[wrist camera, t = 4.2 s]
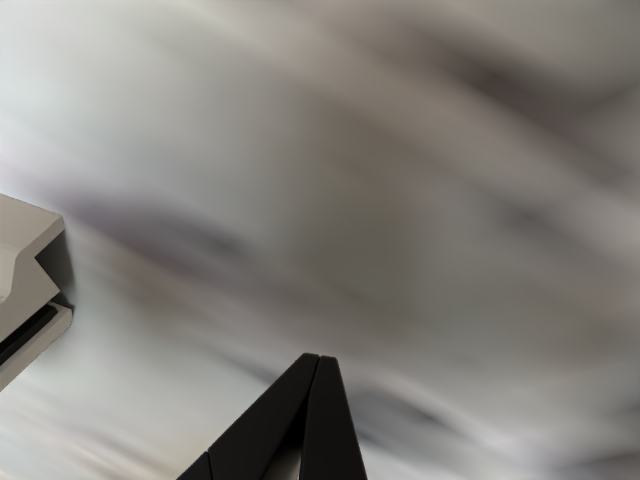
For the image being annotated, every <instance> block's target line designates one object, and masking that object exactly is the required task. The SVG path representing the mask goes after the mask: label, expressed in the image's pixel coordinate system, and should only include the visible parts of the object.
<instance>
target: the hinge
mask: <svg viewBox="0 0 640 480" xmlns="http://www.w3.org/2000/svg"><path fill="white" fill-rule="evenodd" d="M63 230H64V224H63V220H62V216H60V215H58V214H55V213H52V212H49V211H47V210H44V209H41V208H38V207H36V206H33V205H30V204H27V203H25V202H22V201H19V200H16V199H14V198H11V197H8V196H5V195H3V194H0V392H1V391H2V390H3V389H4V388H5V387H6V386H7V385H8V384H9V383H10V382H11V381H12V380H13V379H14V378H15V377H16V376H18V375H19V374H20V373H21V372H22V371H23V370H24V369H25V368H26V367H27V366H28V365H29V364H30V363H31V362H32V361H33V360H34V359H35V358H36V357H38V356H39V355H40V354H41V353H42V352H43V351H44V350H45V349H46V348H47V347H48V346H49V345H50V344H51V343H52V342H53V341H54V340H55V339H56V338H58V337H59V336H60V335H61V334H62V333H63V332H64V331H65V330H66V329H67V328H68V327H69V326H70V325H71V321H72V318H73V316H72V311H71V309H68V308H66V307H63V306H61V305H58V304H55V303H53V302H50V299H52V298H53V297H54V296H55V295H56V294H57V293H58V292H60V290H59V289H58V287H57V286H56V285H55V284H54V282H53V281H52V280H51V279H50V277H49V276H48V275H47V273H46V272H45V271H44V270H43V268H42V267H41V266H40V265H39V263H38V262H37V261H36V260H35V258H34V257H35V256H36V255H37V254H38V253H39V252H40V251H42V250H43V249H44V248H45V247H46V246H47V245H48V244H49V243H50V242H51V241H52V240H53V239H54V238H56V237H57V236H58V235H59V234H60V233H61V232H62V231H63Z"/></svg>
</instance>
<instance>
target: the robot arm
mask: <svg viewBox="0 0 640 480" xmlns="http://www.w3.org/2000/svg"><path fill="white" fill-rule="evenodd" d="M299 472H300V473H299ZM298 475H299V480H368V479H367V475H366V471H365V467H364V463H363V459H362V455H361V451H360V447H359V443H358V439H357V435H356V431H355V427H354V423H353V420H352V416H351V412H350V408H349V404H348V400H347V396H346V392H345V388H344V384H343V380H342V376H341V372H340V368H339V364H338V360H337V358H335V357H330V356H321V357H320V356H319V355H317V354H311V353H303V354H302V355H301V356H300V357H299V358H298V359H297V360H296V361H295V362H294V363H293V364H292V365H291V366H290V367H289V368H288V369H287V370H286V371H285V372H284V373H283V374H282V375H281V376H280V377H279V378H278V379H277V380H276V381H275V382H274V383H273V384H272V385H271V386H270V387H269V388H268V389H267V390H266V391H265V392H264V393H263V394H262V395H261V396H260V397H259V398H258V399H257V400H256V401H255V402H254V403H253V404H252V405H251V406H250V407H249V408H248V409H247V410H246V411H245V412H244V413H243V414H242V415H241V416H240V417H239V418H238V419H237V420H236V421H235V422H234V423H233V424H232V425H231V426H230V427H229V428H228V429H227V430H226V431H225V432H224V433H223V434H222V435H221V436H220V437H219V438H218V439H217V440H216V441H215V442H214V443H213V444H212V445H211V446H210V447H209V448H208V452H207V451H205V452H204V453H203V454H202V455H201V456H200V457H199V458H198V459H197V460H196V461H195V462H194V463H193V464H192V465H191V466H190V467H189V468H188V469H187V470H186V471H185V472H184V473H182V474H181V475H180V476H179V477H178V478H177V479H176V480H297V478H298Z"/></svg>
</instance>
